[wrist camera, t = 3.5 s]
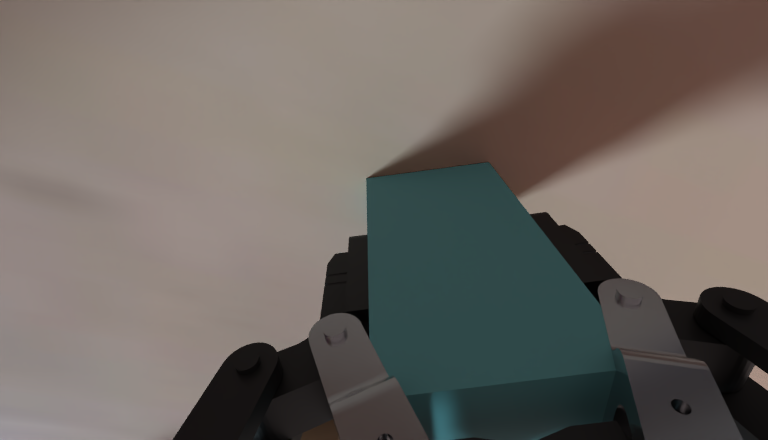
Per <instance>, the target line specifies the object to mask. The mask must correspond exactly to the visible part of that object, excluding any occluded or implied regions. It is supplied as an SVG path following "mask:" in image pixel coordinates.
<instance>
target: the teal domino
mask: <svg viewBox="0 0 768 440" xmlns="http://www.w3.org/2000/svg"><path fill="white" fill-rule="evenodd" d="M366 180H367V236H368V292H369V339H370V341H371V343H372V345H373V347H374V349H375V351H376V353H377V355H378V357H379V358H380V360H381V362H382V364H383V366H384V368H385V370H386V372H387V374H388V375H389V377H390V376H392V375H393V376H394V377H395V378H396V379H397V381H398V383H399V384H400V386H401V388H402V390H403V392H404V394H405V395H406V397H407V399H408V401H409V403H410V405H411V407H412V408H413V410H414V412H415V414H416V416H417V418H418V420H419V421H420V423H421V425H422V427H423V429H424V431H425V433H426V434H427V436H428V438H429V440H455V439H464V438H472V437H476V438H483V439H490V440H538V439H541V438H543V437H545V436H548V435H550V434H552V433H555V432H557V431H559V430H562V429H564V428H566V427H569V426H574V425H583V424H591V423H600V422H602V420H603V417H604V413H605V409H606V405H607V402H608V398H609V394H610V391H611V387H612V383H613V380H614V376H615V372H616V368H615V363H614V359H613V355H612V351H611V347H610V342H609V338H608V334H607V330H606V325H605V321H604V317H603V313H602V309H601V305H600V304H599V303H598V301H597V300H596V299H595V297H594V296H593V295H592V294H591V292H590V291H589V290H588V289H587V287H586V286H585V285H584V283H583V282H582V281H581V280H580V278H579V277H578V276H577V274H576V273H575V272H574V271H573V269H572V268H571V267H570V266H569V264H568V263H567V262H566V260H565V259H564V258H563V257H562V255H561V254H560V253H559V251H558V250H557V249H556V248H555V246H554V245H553V244H552V242H551V241H550V240H549V239H548V237H547V236H546V235H545V234H544V232H543V231H542V230H541V228H540V227H539V226H538V225H537V223H536V222H535V221H534V219H533V218H532V217H531V216H530V214H529V213H528V212H527V210H526V209H525V208H524V207H523V205H522V204H521V203H520V202H519V200H518V199H517V198H516V196H515V195H514V194H513V193H512V191H511V190H510V189H509V187H508V186H507V185H506V184H505V182H504V181H503V180H502V179H501V177H500V176H499V175H498V173H497V172H496V171H495V170H494V168H493V167H492V166H491V164H490V163H489V162H486V163H479V164H471V165H464V166H456V167H448V168H441V169H433V170H426V171H418V172H411V173H403V174H395V175H388V176H380V177H373V178H366Z"/></svg>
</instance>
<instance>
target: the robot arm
mask: <svg viewBox="0 0 768 440" xmlns="http://www.w3.org/2000/svg"><path fill="white" fill-rule="evenodd" d="M530 216H531V217H532V218H533V219H534V221H535V222H536V223H537V225H538V226H539V227H540V228H541V230H542V231H543V232H544V234H545V235H546V236H547V237H548V239H549V240H550V241H551V242H552V244H553V245H554V246H555V248H556V249H557V250H558V251H559V253H560V254H561V255H562V257H563V258H564V259H565V260H566V262H567V263H568V264H569V266H570V267H571V268H572V269H573V271H574V272H575V273H576V274H577V276H578V277H579V278H580V280H581V281H582V282H583V283H584V285H585V286H586V287H587V289H588V290H589V291H590V292H591V294H592V295H593V296H594V297H595V299H596V300H597V301H598V303H599V304H600V305H601V309H602V313H603V317H604V321H605V325H606V330H607V334H608V338H609V342H610V347H611V351H612V355H613V359H614V363H615V368H616V372H615V376H614V380H613V383H612V387H611V391H610V394H609V398H608V402H607V405H606V409H605V413H604V417H603V420H602V422H600V423H591V424H583V425H574V426H569V427H566V428H564V429H562V430H559V431H557V432H555V433H552V434H550V435H548V436H545V437H543V438H541V439H538V440H768V391H767V390H766V389H765V388H763V387H762V386H760V385H759V384H758V383H756V382H755V381H754V380H752V379H751V378H750V377H749V375H750V373H751V371H752V369H753V367H754V366H755V365H756V366H757V367H759V368H760V369H762V370H763V371H765V372H766V373H767V374H768V302H766V301H764V300H763V299H761V298H759V297H757V296H755V295H753V294H750V293H748V292H745V291H742V290H738V289H733V288H727V287H713V288H709V289H706V290H704V291H703V292H702V293H701V295H700V297H699V300H698V302H697V303H694V302H684V301H674V300H665V299H661V298H660V296H659V295H658V293H657V292H655V291H654V290H653V289H652V288H650V287H648V286H647V285H645V284H642V283H640V282H637V281H634V280H629V279H622V278H621V277H620V276H619V274H618V273H617V272H616V271H615V270H614V269H613V268H612V267H611V266H610V265H609V264H608V263H607V262H606V261H605V259H604V258H603V257H602V256H601V255H600V254H599V253H598V252H596V250H595V249H594V248H593V247H592V246H591V245H590V244H588V241H587V240H586V239H585V238H584V237H583V236H582V235H581V234H580V233H579V232H577V231H576V230H574V229H572V228H570V227H568V226H566V225H560V226H558V224H557V223H556V222H555V221H554V220H553V219H552V218H551V216H550V215H549V214H548V213H546V212H543V213H535V214H530ZM332 419H333V421H334V424H335V427H336V430H337V433H338V436H339V440H429V438H428V436H427V434H426V433H425V431H424V429H423V427H422V425H421V423H420V421H419V420H418V418H417V416H416V414H415V412H414V410H413V408H412V407H411V405H410V403H409V401H408V399H407V397H406V395H405V394H404V392H403V390H402V388H401V386H400V384H399V383H398V381H397V379H396V378H395V377H394V376H393V375H392V376H390V377H389V375H388V374H387V372H386V370H385V368H384V366H383V364H382V362H381V360H380V358H379V357H378V355H377V353H376V351H375V349H374V347H373V345H372V343H371V341H370V339H369V292H368V236H367V235H361V236H353V237H349V247H348V252H346V253H338V254H335V255H334V256H333V258H332V259H331V260H330V262H329V263H328V265H327V272H326V280H325V287H324V294H323V302H322V309H321V317H320V320H319V321H318V322H316V323H315V324H314V326H313V327H312V328H311V330H310V332H309V337H308V338H307V339H306V340H304V341H302V342H301V343H299V344H297V345H294V346H292V347H289V348H287V349H284V350H281V351H279V352H277V351H276V350H275V348H274V347H273V346H271V345H269V344H266V343H252V344H249V345H246V346H243V347H241V348H239V349H238V350H236V351H235V352H233V353H232V354H231V355H230V356H229V357H228V358H227V359H226V360H225V361H224V363H223V364H222V366H221V367H220V369H219V370H218V372H217V373H216V375H215V376H214V378H213V379H212V381H211V382H210V384H209V385H208V387H207V388H206V390H205V391H204V393H203V394H202V396H201V398H200V399H199V401H198V402H197V404H196V405H195V407H194V408H193V410H192V411H191V413H190V414H189V416H188V417H187V419H186V420H185V422H184V423H183V425H182V426H181V428H180V429H179V431H178V432H177V434H176V435H175V437H174V439H173V440H300V439H301V437H302V433H304V432H306V431H308V430H310V429H313V428H315V427H317V426H319V425H321V424H324V423H326V422H328V421H330V420H332ZM455 440H490V439H483V438H476V437H472V438H464V439H455Z"/></svg>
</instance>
